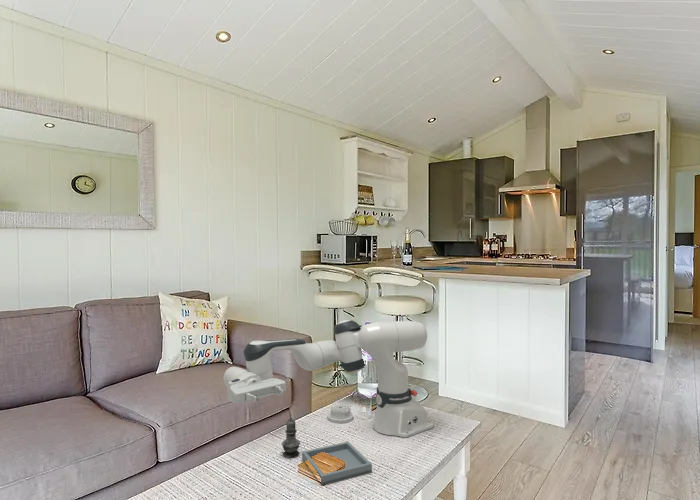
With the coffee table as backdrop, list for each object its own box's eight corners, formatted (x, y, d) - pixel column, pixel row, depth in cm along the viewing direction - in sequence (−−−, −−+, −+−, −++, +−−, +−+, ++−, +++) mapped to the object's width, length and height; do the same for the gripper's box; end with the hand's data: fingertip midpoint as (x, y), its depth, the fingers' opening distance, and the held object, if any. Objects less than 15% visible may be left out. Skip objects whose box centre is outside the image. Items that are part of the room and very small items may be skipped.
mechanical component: (324, 422, 167) (350, 425, 165) (324, 411, 167) (350, 413, 165) (330, 412, 177) (355, 414, 175) (331, 401, 176) (355, 403, 174)
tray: (348, 449, 146) (348, 441, 145) (371, 472, 131) (371, 463, 131) (302, 459, 138) (302, 451, 138) (321, 485, 124) (321, 476, 124)
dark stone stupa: (292, 460, 138) (292, 422, 138) (277, 455, 141) (277, 418, 141) (303, 452, 143) (303, 415, 143) (289, 448, 146) (289, 412, 146)
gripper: (274, 388, 168) (294, 398, 158) (223, 400, 155) (242, 412, 144) (274, 372, 168) (295, 380, 158) (223, 383, 155) (242, 393, 144)
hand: (269, 396), depth 151 cm, fingers open, 8 cm apart
